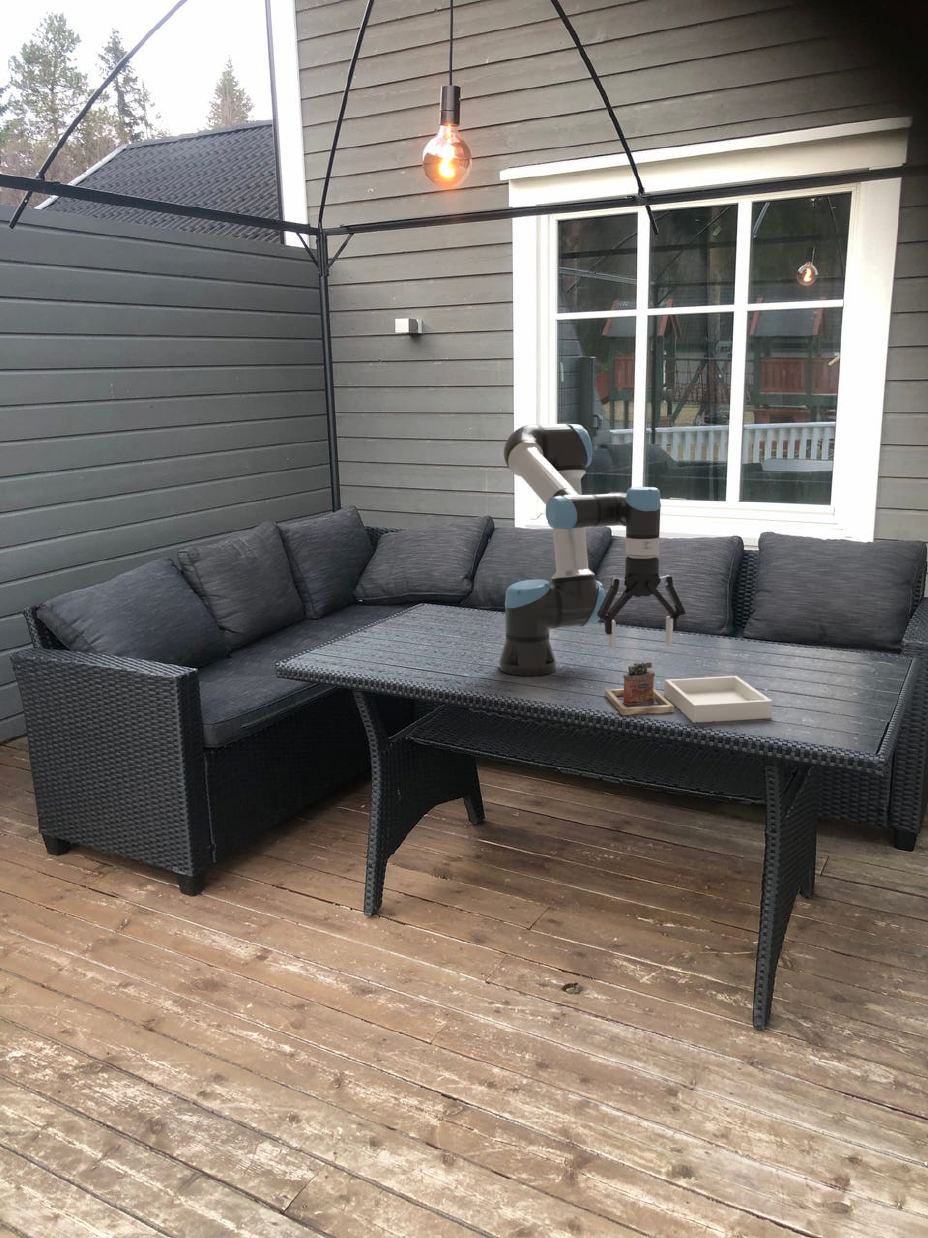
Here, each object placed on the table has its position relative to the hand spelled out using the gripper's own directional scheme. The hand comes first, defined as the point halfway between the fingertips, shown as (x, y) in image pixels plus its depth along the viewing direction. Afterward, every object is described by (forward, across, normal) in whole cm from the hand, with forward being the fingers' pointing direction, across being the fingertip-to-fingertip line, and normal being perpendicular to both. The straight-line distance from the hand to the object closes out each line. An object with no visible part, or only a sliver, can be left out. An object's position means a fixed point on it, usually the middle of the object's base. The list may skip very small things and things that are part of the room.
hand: (640, 646), depth 224 cm
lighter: (+14, 0, 0) cm, 14 cm away
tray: (+14, +17, -4) cm, 22 cm away
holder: (+14, 0, 0) cm, 14 cm away
